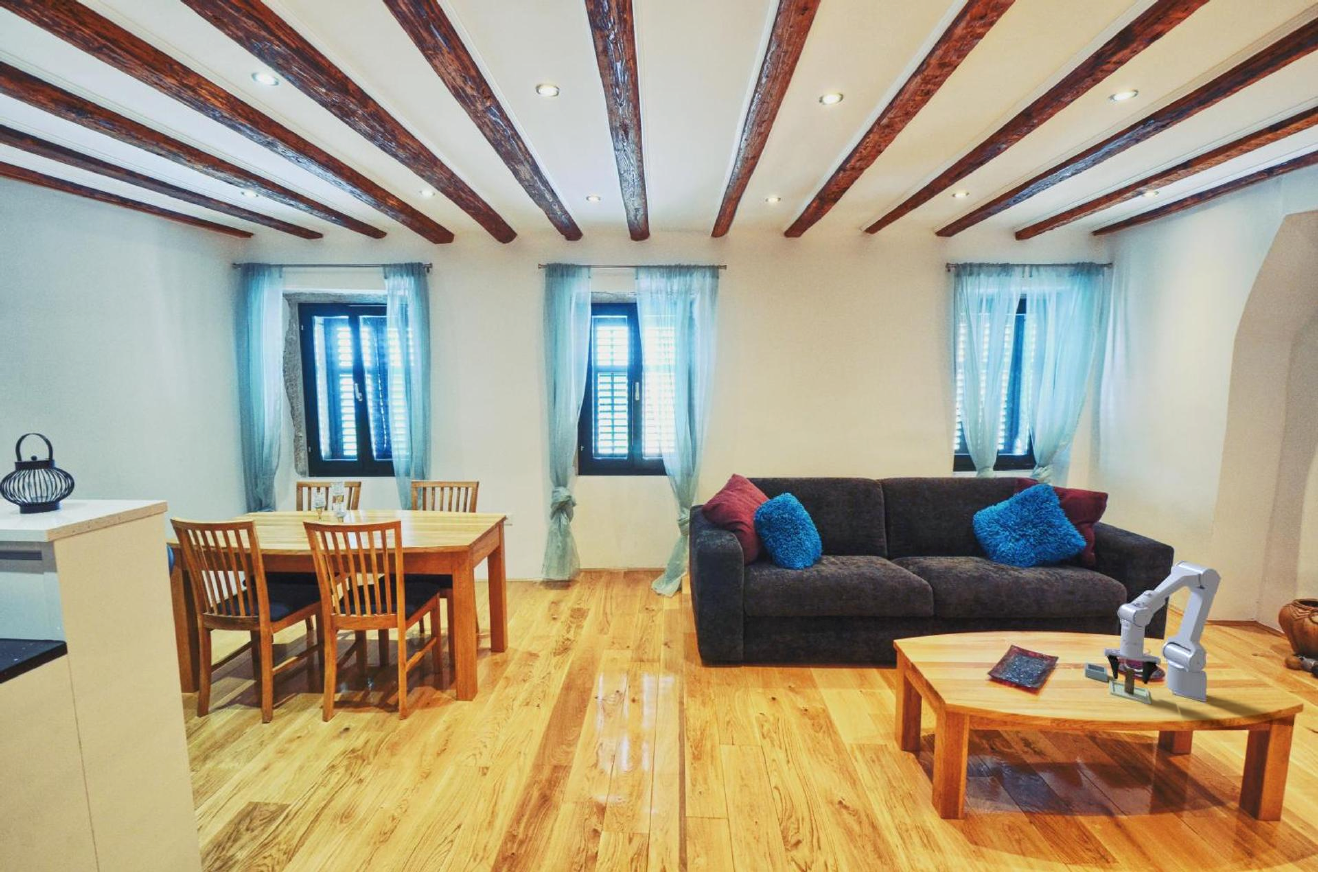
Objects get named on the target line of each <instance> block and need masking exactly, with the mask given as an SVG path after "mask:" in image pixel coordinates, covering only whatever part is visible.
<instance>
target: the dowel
mask: <svg viewBox="0 0 1318 872" xmlns="http://www.w3.org/2000/svg"><path fill="white" fill-rule="evenodd" d="M1135 680H1136V669H1134V668H1131V667H1125V676H1124V684H1125V688H1124V692H1126V693H1128V694H1134V686H1135V682H1136V681H1135Z"/></svg>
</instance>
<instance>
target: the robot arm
mask: <svg viewBox="0 0 1318 872" xmlns="http://www.w3.org/2000/svg"><path fill="white" fill-rule="evenodd" d="M1221 580H1222V577H1221V576H1220V574H1219V572H1218V571H1217V570H1215V569H1214V568H1210V567H1205V566H1202V565H1198V564H1197V563H1196V564H1195V563H1192V562H1188V561H1186V560H1179V561H1177V562H1176V563H1175V564H1174V565H1173V566H1171V569H1170V574H1169V575H1168V576H1167V577H1166V578H1165V579H1164V580H1163V581H1162V582H1161V583H1160V584H1159V585H1158V586H1156V588H1155V589H1154V590H1148V589H1147V590H1145V591H1144V592H1143V593H1142V594H1140V595H1139V596H1137V598H1135V599H1134V600H1132V602H1130V603H1124V604H1122V605H1120V606H1119V608H1118V610H1116V613H1117V616H1118V618H1119V623H1120V624H1121V630H1120V631H1121V632H1120V649H1119V648H1118V649H1116V648H1102V654H1103V656H1104V657H1106V658H1107V660H1108V662H1109V665H1110V667H1111V672H1112V677H1113V678H1114V679H1115V680H1118V679H1119V667H1120V661H1119V658H1120V659H1124V660H1131V661H1137V662H1141V663H1142V672H1141V673H1142V676H1141V682H1142V683H1143V684H1144V685H1148V683H1149V680H1150V678H1151V676H1152V675H1153V674H1154V673H1155V672H1156V671H1157V670H1158V666H1161V663H1162V660H1161V658H1160V657H1159V656H1155V655H1151V654H1147V653H1144V645H1145V631H1146V630H1145V629H1146V626H1148V625H1149V624H1150V623H1151V620H1152V618H1153V616H1154V614H1155V613H1156V612H1157V611H1158V610H1160V609H1162V607H1163V606H1165V604H1166V598H1168V597H1170V596H1171V595H1173V594H1174V593H1176V592H1177V591H1179V590H1181V589H1182V588H1183V587H1188V589H1189V590H1190V592H1191V593H1190V594H1189V598H1188V601H1187V604H1186V606H1185V607H1186V608H1185V611H1184V613H1183V617H1182V619H1181V623H1180V626H1179V628H1178V631H1177V634H1176V635H1172V636H1169V637H1167V639H1166V642H1165V643H1164V644H1163V645H1162V647H1161V654H1162V655H1161V656H1162V657H1163V658H1164V659H1165V662H1166V663H1167V670H1166V671H1167V672H1166V685H1165V687H1166V688H1167V689H1168V690H1170V691H1171V692H1172V695H1175V696H1179V697H1184V698H1188V699H1190V700H1191V699H1192V700H1195V701H1199V702H1200V701H1201V702H1204V703H1206V702H1207V700H1206V699H1207V684H1208V681H1207V680H1208V676H1207V672H1206V671H1205V670H1203V669H1205V667H1206V666H1207V659H1206V656H1207V653H1208V652H1207V650H1206V649H1205V648H1204V646H1203V645H1202V644H1201V643H1200V642H1201V639H1202V635H1203V632H1204V629H1205V626H1206V623H1207V620H1208V617H1209V614H1210V610H1211V608H1212V605H1213V602H1214V600H1215V596H1216V594H1217V592H1218V589H1219V586H1220V583H1221Z"/></svg>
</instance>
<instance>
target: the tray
mask: <svg viewBox="0 0 1318 872" xmlns="http://www.w3.org/2000/svg"><path fill="white" fill-rule="evenodd" d="M1108 685H1109V693H1110V695H1113V696H1117V697H1119V698H1120V697H1121V698H1123V699H1128V700H1132V701H1135V702H1140V703H1143V704H1147V705H1152V702H1151V698H1150V693H1149V689H1148V688H1144V687H1141V686H1136V685H1134V694H1128V693H1126V692H1124V688H1125V682H1119V681H1115V680H1112V679H1109V680H1108Z"/></svg>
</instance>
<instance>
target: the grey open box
mask: <svg viewBox="0 0 1318 872" xmlns="http://www.w3.org/2000/svg"><path fill="white" fill-rule="evenodd" d="M1084 663H1085V665H1084V677H1085V678H1089V679H1093V680H1097V681H1101V682H1104V683H1105V682H1107V683H1108V674H1109V673H1108V667H1107V666H1103V665H1098V664H1094V663H1090V662H1084Z"/></svg>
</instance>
